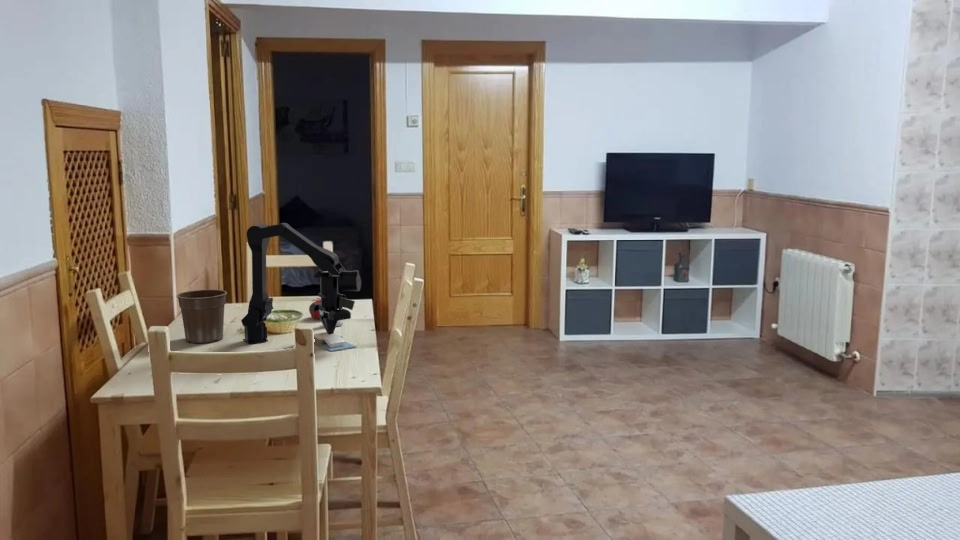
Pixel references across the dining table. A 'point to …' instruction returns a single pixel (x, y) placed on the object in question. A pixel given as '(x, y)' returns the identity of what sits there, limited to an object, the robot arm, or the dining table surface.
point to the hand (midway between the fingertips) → (330, 336)
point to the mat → (327, 347)
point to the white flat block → (334, 340)
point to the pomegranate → (315, 315)
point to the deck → (320, 338)
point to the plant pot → (202, 314)
